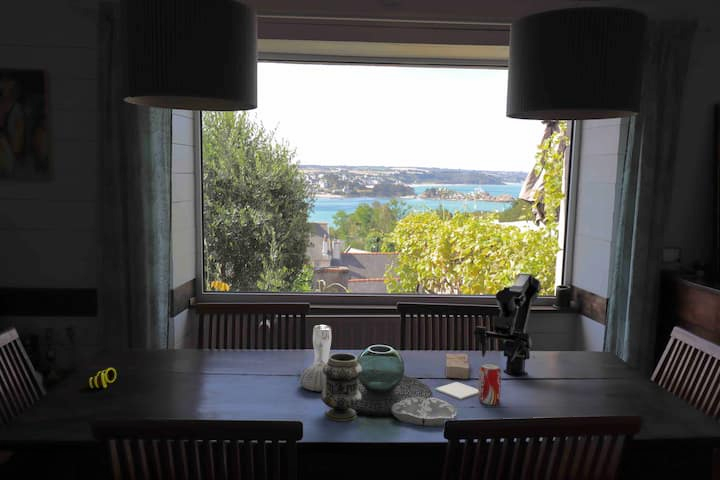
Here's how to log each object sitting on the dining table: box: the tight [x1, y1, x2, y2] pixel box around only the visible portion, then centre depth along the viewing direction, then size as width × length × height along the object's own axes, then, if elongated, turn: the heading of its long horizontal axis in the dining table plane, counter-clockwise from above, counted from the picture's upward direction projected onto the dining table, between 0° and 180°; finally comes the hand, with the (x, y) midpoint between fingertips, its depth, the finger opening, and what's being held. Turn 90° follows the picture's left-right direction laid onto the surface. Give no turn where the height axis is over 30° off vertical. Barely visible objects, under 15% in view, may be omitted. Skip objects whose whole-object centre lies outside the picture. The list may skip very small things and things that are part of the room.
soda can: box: [477, 362, 502, 406], centre depth 185 cm, size 7×7×12 cm
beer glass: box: [312, 324, 332, 364], centre depth 217 cm, size 7×7×15 cm
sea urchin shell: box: [299, 363, 326, 392], centre depth 195 cm, size 13×14×8 cm
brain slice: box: [391, 396, 458, 427], centre depth 173 cm, size 20×17×3 cm
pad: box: [434, 381, 478, 401], centre depth 195 cm, size 11×11×1 cm
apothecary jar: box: [320, 352, 363, 422], centre depth 172 cm, size 12×12×18 cm
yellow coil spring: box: [89, 367, 117, 389], centre depth 193 cm, size 10×5×5 cm, turn 0°
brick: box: [445, 353, 470, 380], centre depth 216 cm, size 17×8×5 cm, turn 171°
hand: (496, 358), depth 190 cm, fingers open, 9 cm apart
